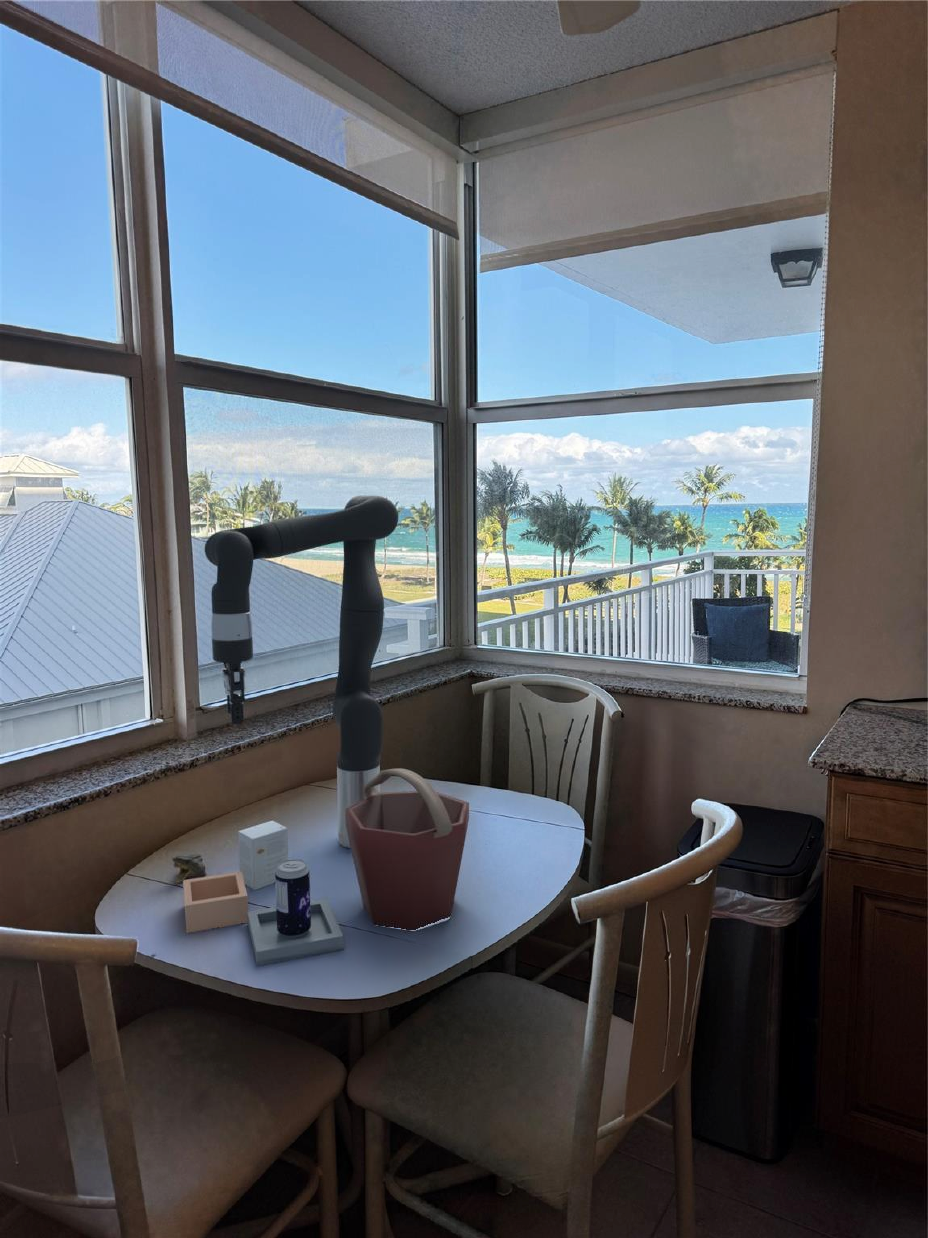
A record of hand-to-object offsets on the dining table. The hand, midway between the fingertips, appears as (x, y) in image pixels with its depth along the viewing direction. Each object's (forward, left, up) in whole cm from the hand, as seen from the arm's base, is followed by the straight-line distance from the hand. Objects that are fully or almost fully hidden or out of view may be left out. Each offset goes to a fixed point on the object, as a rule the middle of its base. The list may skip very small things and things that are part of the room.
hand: (235, 718), depth 160 cm
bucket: (-28, +25, -32) cm, 50 cm away
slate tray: (-6, +28, -32) cm, 43 cm away
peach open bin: (+6, +15, -32) cm, 36 cm away
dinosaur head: (+11, -2, -32) cm, 34 cm away
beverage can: (-6, +28, -32) cm, 43 cm away
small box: (-4, +4, -32) cm, 33 cm away
